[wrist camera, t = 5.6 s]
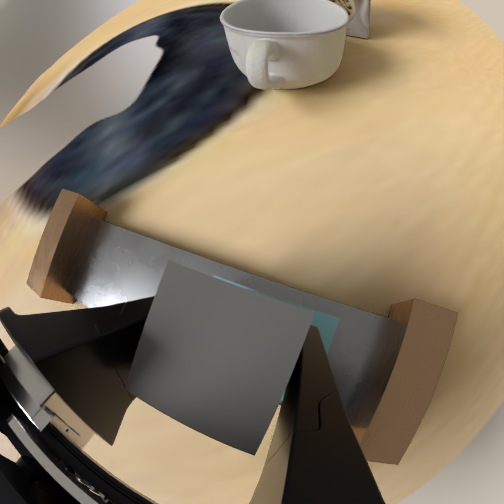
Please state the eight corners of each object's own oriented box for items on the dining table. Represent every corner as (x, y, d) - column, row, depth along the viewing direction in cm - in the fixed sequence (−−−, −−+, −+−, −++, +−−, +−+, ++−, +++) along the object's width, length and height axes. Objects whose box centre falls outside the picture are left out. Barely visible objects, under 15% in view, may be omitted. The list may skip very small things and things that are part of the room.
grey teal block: (336, 318, 14) (380, 310, 6) (304, 400, 13) (301, 485, 5) (222, 279, 16) (136, 229, 8) (193, 356, 15) (87, 376, 7)
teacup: (268, 41, 25) (257, -12, 17) (357, 60, 22) (361, 0, 14) (202, 112, 23) (169, 49, 15) (310, 143, 20) (307, 63, 12)
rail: (428, 316, 15) (457, 312, 11) (381, 440, 13) (397, 464, 9) (89, 205, 23) (62, 188, 19) (56, 291, 21) (26, 283, 17)
